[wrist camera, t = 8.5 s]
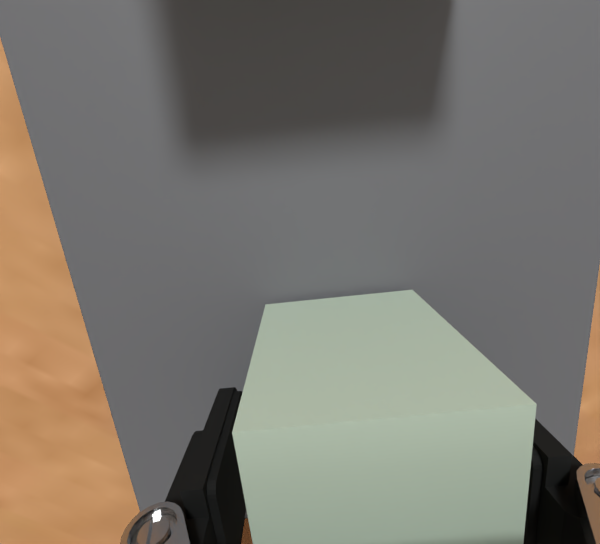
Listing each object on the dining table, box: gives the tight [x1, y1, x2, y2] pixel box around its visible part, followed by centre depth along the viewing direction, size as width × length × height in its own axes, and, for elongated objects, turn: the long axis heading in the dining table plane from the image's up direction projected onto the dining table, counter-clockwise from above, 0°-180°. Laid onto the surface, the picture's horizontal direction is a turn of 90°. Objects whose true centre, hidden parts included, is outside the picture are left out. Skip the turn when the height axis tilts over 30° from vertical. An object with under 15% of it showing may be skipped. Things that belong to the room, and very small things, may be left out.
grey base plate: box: [0, 0, 600, 518], centre depth 9 cm, size 28×18×6 cm, turn 6°
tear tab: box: [232, 290, 537, 544], centre depth 9 cm, size 7×5×6 cm
